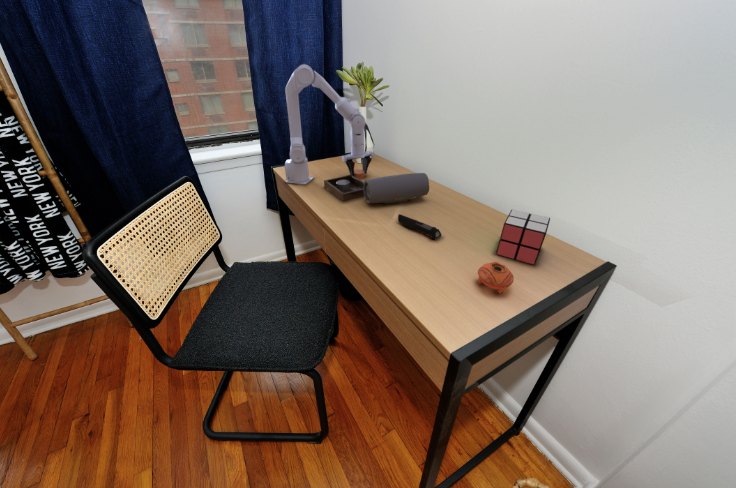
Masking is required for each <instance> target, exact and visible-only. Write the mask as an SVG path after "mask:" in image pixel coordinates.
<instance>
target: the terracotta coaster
mask: <svg viewBox="0 0 736 488" xmlns="http://www.w3.org/2000/svg"><path fill="white" fill-rule="evenodd" d="M365 176H366V174H365V171H364V170H363V169H354V177H356V178H358V179H362V178H365Z"/></svg>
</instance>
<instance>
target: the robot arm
mask: <svg viewBox="0 0 736 488" xmlns="http://www.w3.org/2000/svg"><path fill="white" fill-rule="evenodd" d="M310 85H311V86H312V87H313V88H317V89H320V90H321V91H322V92H323V94H324V95H326V96H327V97H328V98H329V99H330V100H331V101H332V102H333V103H334V108H335V110H336V111H337V112H338V113H339V114H340V115H341V116H342V118H344V119H345V121H348V123H349V124H350V153H348V154H345V155H342V156H341V161H342V162H344V163H345V165H346V167H347V168H348V171H349V175H353V176H354V170H355V165H356V162H355V161H354V160H359V159H361V164H362V165H361V167H362V170H364V171H365V175H367V172H368V169H369V166H370V164H371V162H372V157H374V151H372V150H366V151H365V149H366V147H365V126H366V123H367V122H366V119H365V117H364V115H362V113H361V112H360V110H359V109H358V108H356V107H355V106H354V105H353V103H351V102H352V101H351V99H350V98H347V97H346V96H340V95H339V94H338V93H337V91H335V89H334V88H333V87H332V86H331V85H330V83H328V81H326V79H325V78H324V77H323V76H322V75H321V74H319V73H318V72H317V71H315V70H313V69H312V67H311V66H310V65H308V64H305V63H303V64H300V65H299V66H298V67H296V68H295V69H294V70H293V72H292V74H291V76H290V78H289V80H288V81H287V83H286V86H285V90H284V91H285V99H286V109H287V118H288V125H289V126H288V127H289V136H290V147H289V150H290V151H289V159H286V161H285V163H284V172H285V179H286V180H285V183H289V184H296V185H306V184H308V183H309V182H310V181H312V180H313V179H314V177H313V176H310V170H309V169H310V168H309V160H308V157H307V155H306V146H305V145H304V141H303V133H302V121H301V113H300V112H301V111H300V100H299V94H300V93H301V92H302V91H303V90H304V88H307V87H308V86H310Z"/></svg>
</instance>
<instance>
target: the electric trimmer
mask: <svg viewBox="0 0 736 488" xmlns="http://www.w3.org/2000/svg"><path fill="white" fill-rule="evenodd" d="M397 221H398V222H399V223H400V224H402V225H403V226H405V227H407V228H408V229H410V230H416V231H418V232H421V233H422V234H425V235H426V236H429V237H431V239H432V240H433V241H434V240H435V241H437V240H439V239H440V238H441V237H442V232H441V230H440V229H439V228H437V227H436V226H432V225H429V224H426V223H424V222H422V221H419V220H417V219H414V218H412V217H408V216H407V215H404V214H400V213H399V214H398V215H397Z"/></svg>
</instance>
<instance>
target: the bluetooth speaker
mask: <svg viewBox="0 0 736 488" xmlns="http://www.w3.org/2000/svg"><path fill="white" fill-rule="evenodd" d="M363 182H364V187H363V190H364V200H365V201H366V203H367V204H379V203H380V204H381V203H382V204H387V205H388V204H396V203H405V202H409V201H410V200H411V199H415V198H420V197H424V196H427V195H428V194H429V193H430V180H429V176H428V174H426V173H425V172H414V173H402V174H392V175H386V176H379V177H373V178H368V179H365V180H364V181H363Z"/></svg>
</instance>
